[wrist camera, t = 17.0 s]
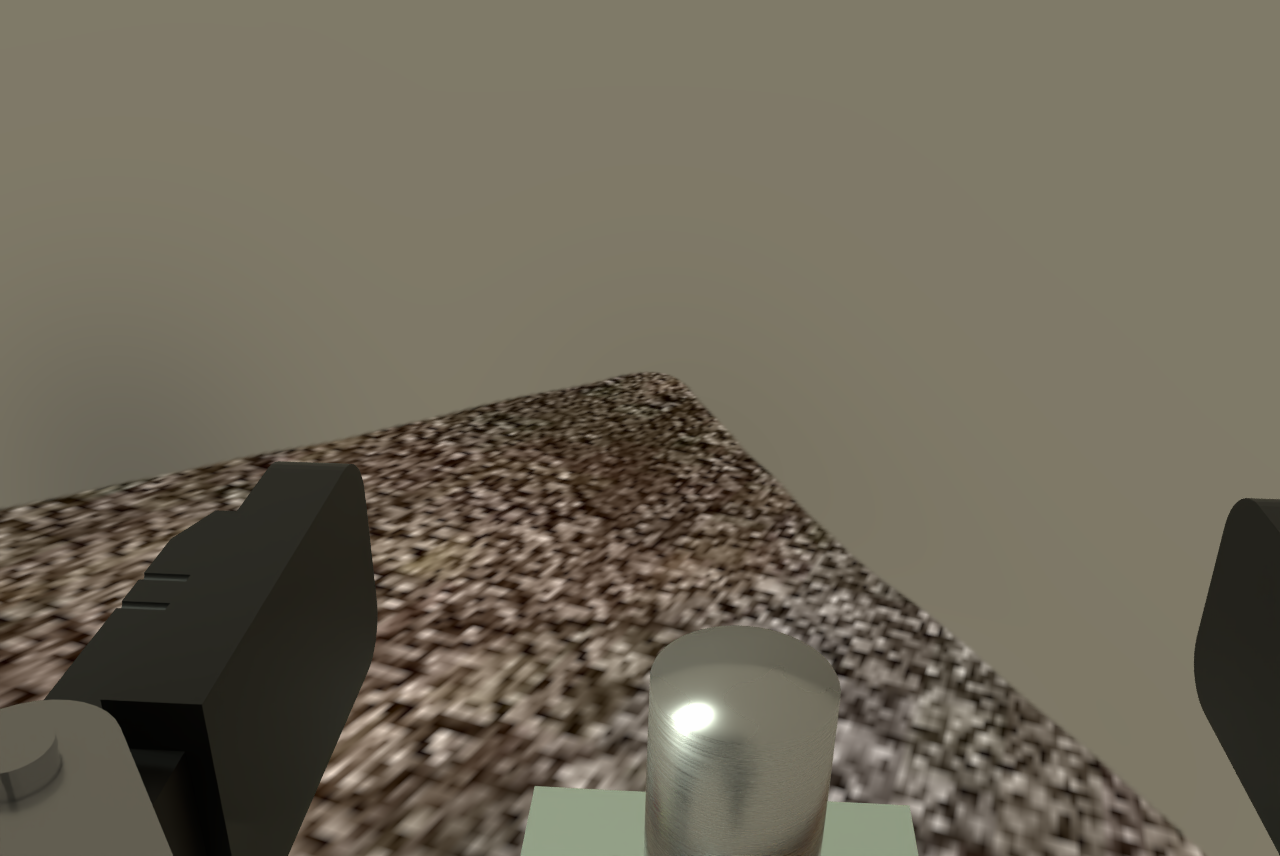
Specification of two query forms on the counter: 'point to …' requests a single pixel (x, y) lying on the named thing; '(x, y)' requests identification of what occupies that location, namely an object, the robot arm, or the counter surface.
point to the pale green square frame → (614, 825)
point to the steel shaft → (739, 745)
